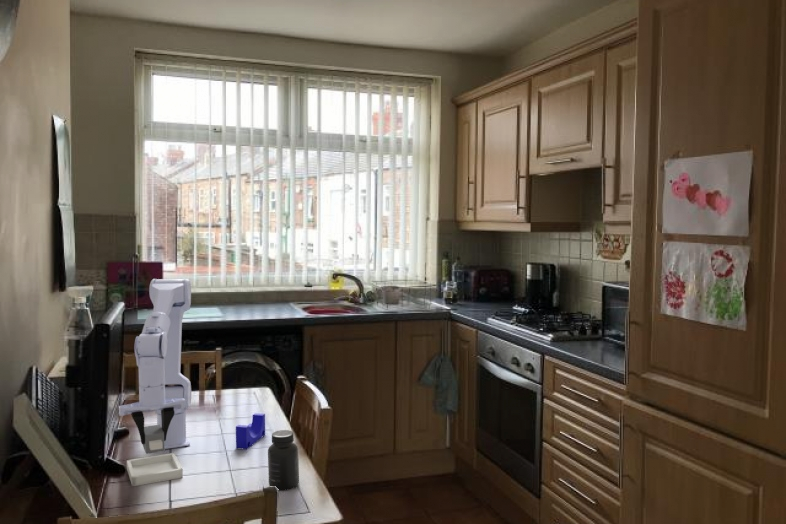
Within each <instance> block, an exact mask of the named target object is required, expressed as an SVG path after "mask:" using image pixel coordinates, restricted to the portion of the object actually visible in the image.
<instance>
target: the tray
mask: <svg viewBox="0 0 786 524" xmlns="http://www.w3.org/2000/svg"><path fill="white" fill-rule="evenodd" d="M126 471H127V474H128V476H129V477H128V478H129V480H130V481H129V482H130V483H131V487H137V486H142V485H148V484H154V483H159V482H165V481H170V480H177V479H183V478H184V477H183V476H184V474H183V472H184V471H183V467H182V465H181V464H180V462H179V459H178V458H177V456H176V453H175V452H170V453H164V454H160V455H159V454H158V455H153V456H151V455H150V456H145V457H144V456H143V457H138V458H133V459H127V460H126Z"/></svg>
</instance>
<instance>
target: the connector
mask: <svg viewBox="0 0 786 524" xmlns="http://www.w3.org/2000/svg"><path fill="white" fill-rule="evenodd" d="M144 434H145V444H142V446H143V449H144V452H145V454H146V455H148V454H155V453H162V452H163V453H164V452H165V449H164V432H163V430H162V428H161V426H160V425H157V424H153V425H147V426H146V425H144Z"/></svg>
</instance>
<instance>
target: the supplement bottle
mask: <svg viewBox="0 0 786 524" xmlns="http://www.w3.org/2000/svg"><path fill="white" fill-rule="evenodd" d="M294 441H295V437H294V431H292V430H287V429H282V430H281V429H279V430H276V431H273V432H272V433H271V443H272V444H270V446H269V447H268V449H267V469H268V486H269V487H270V486H276V487H277V488H278V489H279V491H280V492H282V491H283V492H284V491H290V490H293V489H294V488H296V487H298V486H299V484H300V462H299V460H300V459H299V457H300V456H299V455H300V454H299V447H298V445H297V444H296V443H295V442H294ZM279 491H278V492H279Z"/></svg>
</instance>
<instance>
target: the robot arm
mask: <svg viewBox="0 0 786 524" xmlns="http://www.w3.org/2000/svg"><path fill="white" fill-rule="evenodd" d="M191 285H192V284H191V281H190V279H189V278H166V279H165V278H161V279H159V278H158V279H157V278H153V279H152V280H151V281H150V284H149V289H148V290H149V298H150V299H149V300H151V303H152V304H153V310H152V312H151V313H149V314H148V315H147V316H146V319H145V322H144V325H143V327H142V330H141V333H140V334H139V336H138V335H137V336H136V337H135V340H134V355H135V359H136V366H137V367H138V391H139V393H138V398H139V400H138V401H137V402H133V403H128V404H122V405H118V415H119V417H124V416H126V415H131V417H132V420H133V421H134V423H135V425H136V427H137V430H138V433H139V437H140V442H141V445H143V444H145V434H144V427H145V416H144V413H147V412H148V413H149V412H154V415H155V414H156V425H160V426H161V428H162V430H163V432H164V450H169V449H174V448H182V447H188V446H190V445H191V442H190V441H189V440H188V438H187V424H186V422H187V421H186V410H188V409H189V408H190V407H191V404H192V385H191V381H190V379H189V378H188V377H186V376H185V375H183V374H182V373H181V362H182V361H181V360H182V357H181V356H182V334H183V333H182V332H183V331H182V328H183V317H184V314H185V312H187V311H189V310H190V307H191V303H192V300H191V299H192V286H191ZM166 385H167V386H166ZM171 385H173V386H171Z"/></svg>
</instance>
